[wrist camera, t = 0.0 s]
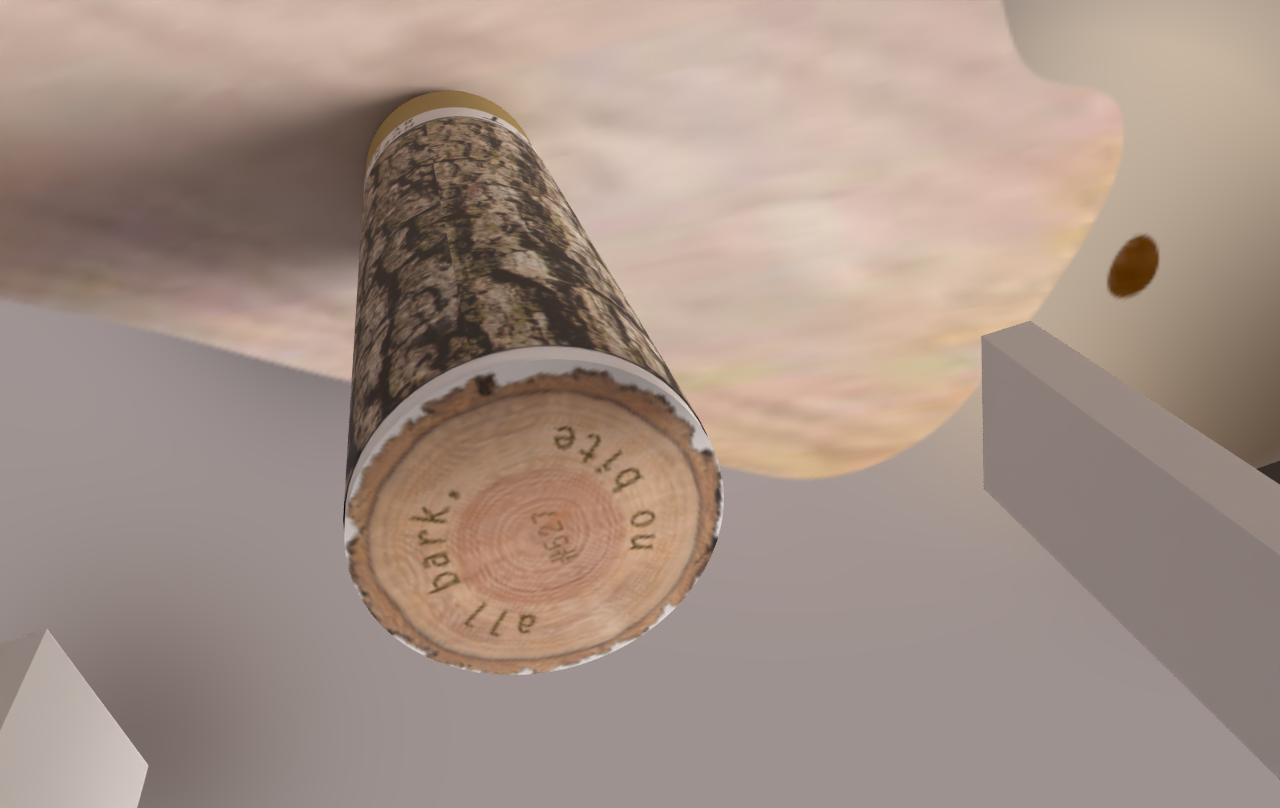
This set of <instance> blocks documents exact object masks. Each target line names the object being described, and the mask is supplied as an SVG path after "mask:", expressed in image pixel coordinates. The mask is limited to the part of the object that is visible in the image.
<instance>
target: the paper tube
mask: <svg viewBox="0 0 1280 808" xmlns="http://www.w3.org/2000/svg"><path fill="white" fill-rule="evenodd" d="M363 196H364V198H363V208H362V224H361V240H360V256H359V273H358V289H357V305H356V321H355V337H354V353H353V369H352V386H351V403H350V418H349V434H348V450H347V451H348V452H347V466H346V482H345V499H344V516H343V522H344V542H345V554H346V559H347V563H348V568H349V572H350V574H351V577H352V580H353V583H354V585H355V587H356V590H357V592H358V593H359V595H360V597H361V599H362V601H363V602H364V604H365V605H366V607H367V608H368V610H369V611H370V613H371V614H372V615H373V616H374V617H375V618H376V620H377V621H378V622H379V623H380V624H381V625H382V626H383V627H384V628H385V629H386V630H387V631H388V632H389V633H391V634H392V635H393V636H394V637H395V638H397V639H398V640H400V641H401V642H402V643H404V644H405V645H407V646H408V647H409V648H411V649H413V650H415V651H417V652H418V653H421V654H422V655H424V656H426V657H428V658H431V659H433V660H435V661H438V662H440V663H443V664H447V665H450V666H453V667H456V668H460V669H464V670H469V671H473V672H480V673H488V674H503V675H521V674H535V673H544V672H550V671H555V670H560V669H566V668H569V667H573V666H577V665H580V664H583V663H586V662H589V661H592V660H595V659H598V658H600V657H602V656H605V655H607V654H609V653H611V652H614V651H616V650H617V649H619V648H621V647H623V646H625V645H627V644H629V643H631V642H632V641H634V640H635V639H637V638H638V637H640V636H642V635H643V634H645V633H646V632H648V631H649V630H650V629H651V628H653V627H654V626H655V625H656V624H658V623H659V622H660V621H662V620H663V619H664V618H665V617H666V616H667V615H668V614H669V613H670V612H672V611H673V610H674V609H675V608H676V606H677V605H678V604H679V603H680V602H681V601H682V600H683V599H684V598H685V597H686V595H687V594H688V593H689V591H690V590H691V589H692V588H693V586H694V585H695V584H696V582H697V580H698V579H699V577H700V576H701V574H702V573H703V571H704V569H705V567H706V565H707V563H708V561H709V559H710V557H711V555H712V552H713V550H714V547H715V545H716V542H717V539H718V535H719V531H720V527H721V522H722V515H723V502H724V492H723V482H722V476H721V471H720V467H719V462H718V460H717V457H716V454H715V451H714V449H713V447H712V445H711V443H710V441H709V439H708V436H707V434H706V432H705V430H704V428H703V426H702V424H701V422H700V420H699V418H698V417H697V415H696V413H695V412H694V410H693V409H692V407H691V405H690V404H689V402H688V400H687V399H686V397H685V395H684V394H683V392H682V390H681V389H680V387H679V385H678V384H677V382H676V380H675V379H674V377H673V376H672V374H671V372H670V371H669V369H668V367H667V366H666V364H665V362H664V361H663V359H662V357H661V356H660V354H659V352H658V351H657V349H656V347H655V346H654V344H653V343H652V341H651V339H650V338H649V336H648V334H647V333H646V331H645V329H644V328H643V326H642V324H641V323H640V321H639V319H638V318H637V316H636V314H635V313H634V311H633V310H632V308H631V306H630V305H629V303H628V301H627V300H626V298H625V296H624V295H623V293H622V291H621V290H620V288H619V286H618V285H617V283H616V281H615V280H614V278H613V277H612V275H611V273H610V272H609V270H608V268H607V267H606V265H605V263H604V262H603V260H602V258H601V257H600V255H599V253H598V252H597V250H596V248H595V247H594V245H593V244H592V242H591V240H590V239H589V237H588V235H587V234H586V232H585V230H584V229H583V227H582V225H581V224H580V222H579V220H578V219H577V217H576V216H575V214H574V212H573V211H572V209H571V207H570V206H569V204H568V202H567V201H566V199H565V197H564V196H563V194H562V192H561V191H560V189H559V187H558V186H557V184H556V183H555V181H554V179H553V178H552V176H551V174H550V173H549V171H548V169H547V168H546V166H545V164H544V163H543V161H542V159H540V156H539V154H538V153H537V151H536V150H535V148H534V147H533V146H532V144H531V143H530V141H529V139H528V138H527V136H526V134H525V133H524V131H523V130H522V128H521V127H520V126H519V124H518V123H517V122H516V121H515V120H514V119H513V118H512V117H511V116H510V115H509V114H508V113H507V112H506V111H505V110H503V109H502V108H501V107H499V106H498V105H496V104H494V103H493V102H491V101H489V100H487V99H485V98H482V97H480V96H477V95H474V94H470V93H466V92H459V91H437V92H432V93H427V94H424V95H420V96H418V97H415V98H413V99H411V100H409V101H407V102H406V103H404V104H402V105H401V106H400V107H398V108H397V109H396V110H394V111H393V112H392V113H391V114H390V115H389V116H388V117H387V118H386V119H385V120H384V121H383V123H382V124H381V126H380V127H379V128H378V130H377V132H376V134H375V135H374V137H373V140H372V142H371V144H370V147H369V151H368V154H367V160H366V171H365V183H364V192H363Z"/></svg>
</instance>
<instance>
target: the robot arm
mask: <svg viewBox="0 0 1280 808" xmlns="http://www.w3.org/2000/svg"><path fill="white" fill-rule="evenodd" d="M981 342H982V404H983V466H984V489H985V490H986V491H987V492H988V493H989V494H990V495H991V496H992V497H993V498H994V499H995V500H996V501H997V502H998V503H999V504H1000V505H1001V506H1002V507H1003V508H1004V509H1005V510H1006V511H1007V512H1008V513H1009V514H1010V515H1011V516H1012V517H1013V518H1014V519H1016V521H1017V522H1019V524H1021V525H1022V526H1023V527H1024V528H1025V529H1026V530H1027V531H1028V532H1029V533H1030V534H1031V535H1032V536H1033V537H1034V538H1035V539H1036V540H1037V541H1038V542H1039V543H1040V544H1041V545H1042V546H1043V547H1044V548H1045V549H1046V550H1047V551H1048V552H1049V553H1050V554H1051V555H1052V556H1053V557H1054V558H1055V559H1056V560H1057V561H1058V562H1059V563H1060V564H1061V565H1062V566H1063V567H1064V568H1065V569H1066V570H1067V571H1068V572H1069V573H1070V574H1071V575H1072V576H1073V577H1075V579H1076V580H1078V582H1079V583H1081V584H1082V586H1083V587H1085V589H1087V590H1088V591H1089V592H1090V593H1091V594H1092V595H1093V596H1094V597H1095V598H1096V599H1097V600H1098V601H1099V602H1100V603H1101V604H1102V605H1103V606H1104V607H1105V608H1106V609H1107V610H1108V611H1109V612H1110V613H1111V614H1112V615H1113V616H1114V617H1115V618H1116V619H1117V620H1118V621H1119V622H1120V623H1121V624H1122V625H1123V626H1124V627H1125V628H1126V629H1127V630H1128V631H1129V632H1130V633H1131V634H1132V635H1133V636H1134V637H1135V638H1136V639H1137V640H1138V641H1139V642H1140V643H1141V644H1142V645H1143V646H1144V647H1146V648H1147V650H1149V651H1150V652H1151V653H1152V654H1153V655H1154V656H1155V657H1156V658H1157V659H1158V660H1159V661H1160V662H1161V663H1162V664H1163V665H1164V666H1165V667H1166V668H1167V669H1168V670H1169V671H1170V672H1171V673H1172V674H1173V675H1174V676H1175V677H1176V678H1177V679H1178V680H1179V681H1180V682H1181V683H1182V684H1183V685H1184V686H1185V687H1186V688H1187V689H1188V690H1189V691H1190V692H1191V693H1192V694H1193V695H1194V696H1195V697H1196V698H1197V699H1198V700H1199V701H1200V702H1201V703H1202V704H1203V705H1204V706H1205V707H1206V708H1208V709H1209V711H1211V712H1212V713H1213V714H1214V715H1215V716H1216V717H1217V718H1218V719H1219V720H1220V721H1221V722H1222V723H1223V724H1224V725H1225V726H1226V727H1227V728H1228V729H1229V730H1230V731H1231V732H1232V733H1233V734H1234V735H1235V736H1236V737H1237V738H1238V739H1239V740H1240V741H1241V742H1242V743H1243V744H1244V745H1245V746H1246V747H1247V748H1248V749H1249V750H1250V751H1251V752H1252V753H1253V754H1254V755H1255V756H1257V758H1258V759H1259V760H1260V761H1261V762H1262V763H1263V764H1264V765H1265V766H1266V767H1267V768H1268V769H1269V770H1270V771H1271V772H1273V773H1274V774H1275V775H1276V776H1277V777H1278V778H1279V779H1280V461H1278V462H1275V463H1272V464H1269V465H1267V466H1264V467H1261V468H1258V469H1255V468H1254V467H1252V466H1250V465H1249V464H1248V463H1246V462H1244V461H1243V460H1241V459H1240V458H1238V457H1237V456H1235V455H1234V454H1232V453H1231V452H1229V451H1228V450H1226V449H1225V448H1223V447H1222V446H1220V445H1219V444H1217V443H1215V442H1214V441H1212V440H1211V439H1209V438H1208V437H1206V436H1205V435H1203V434H1202V433H1200V432H1199V431H1197V430H1196V429H1194V428H1193V427H1191V426H1189V425H1188V424H1186V423H1185V422H1183V421H1182V420H1180V419H1179V418H1177V417H1176V416H1174V415H1173V414H1171V413H1170V412H1168V411H1167V410H1165V409H1164V408H1162V407H1161V406H1159V405H1157V404H1156V403H1154V402H1153V401H1151V400H1150V399H1148V398H1147V397H1145V396H1144V395H1142V394H1141V393H1139V392H1138V391H1136V390H1134V389H1133V388H1131V387H1130V386H1128V385H1127V384H1125V383H1124V382H1122V381H1121V380H1119V379H1118V378H1116V377H1115V376H1113V375H1112V374H1110V373H1109V372H1107V371H1106V370H1104V369H1103V368H1101V367H1099V366H1098V365H1096V364H1095V363H1093V362H1092V361H1090V360H1089V359H1087V358H1086V357H1084V356H1083V355H1081V354H1080V353H1078V352H1077V351H1075V350H1074V349H1072V348H1070V347H1069V346H1067V345H1066V344H1064V343H1063V342H1061V341H1060V340H1058V339H1057V338H1055V337H1054V336H1052V335H1051V334H1049V333H1048V332H1046V331H1045V330H1043V329H1041V328H1040V327H1038V326H1037V325H1035V324H1034V323H1032V322H1031V321H1028V322H1025V323H1022V324H1019V325H1016V326H1012V327H1009V328H1006V329H1003V330H1000V331H996V332H993V333H990V334H987V335H984V336H981ZM147 769H148V765H147V763H146V762H145V760H144V759H143V758H142V756H141V755H140V753H139V752H138V751H137V749H136V748H135V747H134V745H133V744H132V743H131V741H130V740H129V739H128V737H127V736H126V735H125V734H124V732H123V731H122V729H121V728H120V727H119V725H118V724H117V722H116V721H115V720H114V718H113V717H112V716H111V714H110V713H109V712H108V710H107V709H106V708H105V706H104V705H103V704H102V702H101V701H100V699H99V698H98V697H97V695H96V694H95V693H94V691H93V690H92V689H91V687H90V686H89V685H88V683H87V682H86V681H85V679H84V678H83V677H82V675H81V674H80V672H79V671H78V670H77V668H76V667H75V666H74V664H73V663H72V662H71V660H70V659H69V658H68V656H67V655H66V654H65V652H64V651H63V650H62V648H61V647H60V645H59V644H58V643H57V641H56V640H55V639H54V637H53V636H52V635H51V633H50V632H49V631H48V629H44V630H41V631H37V632H35V633H31V634H28V635H25V636H22V637H18V638H15V639H12V640H9V641H6V642H2V643H0V808H137V806H138V802H139V799H140V795H141V791H142V788H143V784H144V780H145V776H146V772H147Z"/></svg>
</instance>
